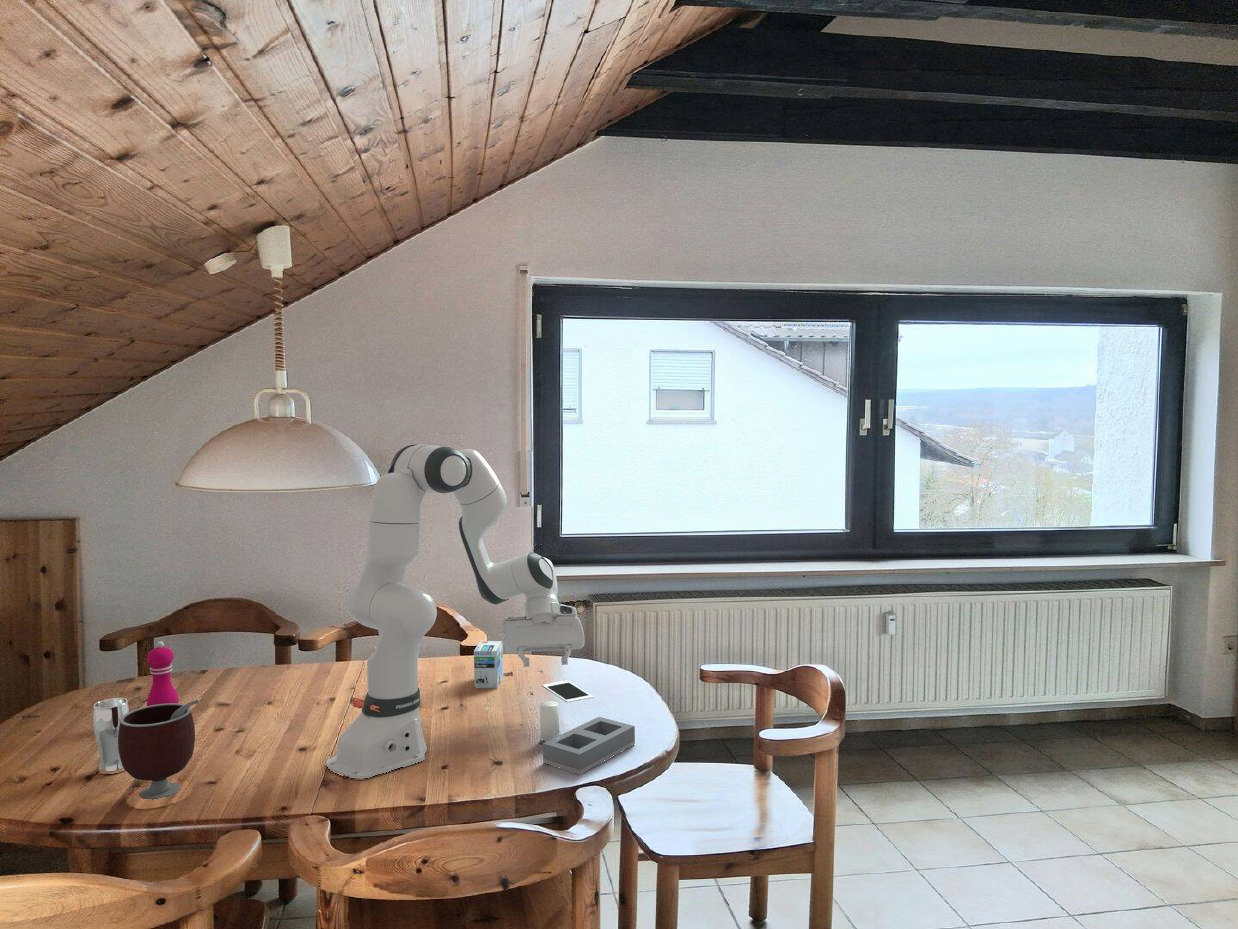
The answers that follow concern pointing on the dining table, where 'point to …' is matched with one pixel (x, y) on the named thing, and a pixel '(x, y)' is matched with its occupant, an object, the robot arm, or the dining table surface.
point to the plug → (549, 720)
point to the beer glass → (109, 731)
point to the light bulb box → (488, 664)
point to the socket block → (588, 744)
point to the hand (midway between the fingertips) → (545, 664)
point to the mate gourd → (157, 745)
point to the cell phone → (567, 691)
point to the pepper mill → (161, 676)
